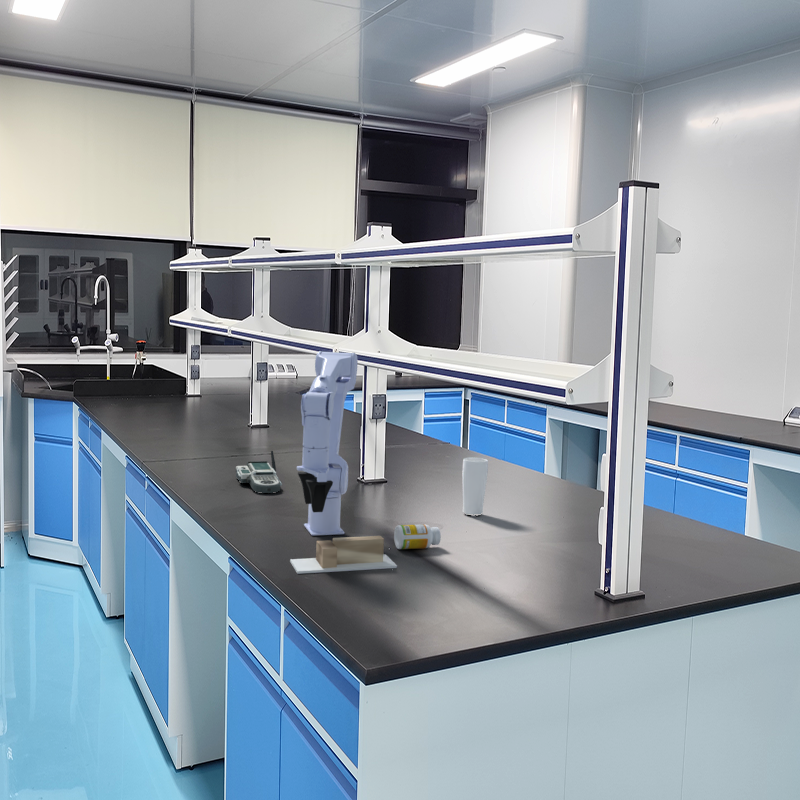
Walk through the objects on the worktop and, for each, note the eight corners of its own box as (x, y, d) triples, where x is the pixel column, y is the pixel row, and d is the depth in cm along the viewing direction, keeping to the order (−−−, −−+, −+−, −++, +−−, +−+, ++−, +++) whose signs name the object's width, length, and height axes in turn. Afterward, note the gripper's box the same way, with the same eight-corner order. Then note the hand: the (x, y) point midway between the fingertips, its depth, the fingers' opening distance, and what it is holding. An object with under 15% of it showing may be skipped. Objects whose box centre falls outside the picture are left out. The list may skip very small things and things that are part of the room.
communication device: (245, 497, 228) (245, 466, 227) (233, 478, 251) (234, 450, 250) (287, 495, 232) (288, 465, 231) (272, 477, 255) (272, 449, 254)
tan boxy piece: (315, 559, 171) (316, 536, 170) (377, 556, 175) (378, 533, 174) (322, 568, 165) (323, 544, 164) (385, 564, 169) (386, 541, 169)
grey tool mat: (290, 561, 170) (290, 559, 170) (385, 556, 177) (385, 554, 177) (297, 573, 162) (297, 571, 162) (396, 567, 169) (396, 565, 169)
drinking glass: (470, 518, 213) (473, 462, 211) (454, 512, 219) (457, 458, 217) (490, 516, 217) (493, 460, 215) (474, 510, 222) (477, 456, 221)
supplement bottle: (394, 549, 184) (434, 547, 187) (401, 549, 179) (442, 548, 182) (393, 525, 185) (433, 524, 188) (400, 524, 180) (441, 523, 183)
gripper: (291, 441, 183) (289, 500, 184) (304, 452, 169) (302, 516, 170) (322, 441, 185) (320, 499, 186) (337, 452, 171) (335, 515, 173)
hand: (313, 507), depth 179 cm, fingers open, 7 cm apart
